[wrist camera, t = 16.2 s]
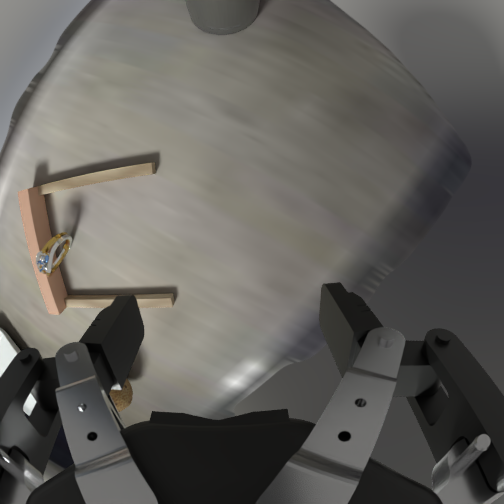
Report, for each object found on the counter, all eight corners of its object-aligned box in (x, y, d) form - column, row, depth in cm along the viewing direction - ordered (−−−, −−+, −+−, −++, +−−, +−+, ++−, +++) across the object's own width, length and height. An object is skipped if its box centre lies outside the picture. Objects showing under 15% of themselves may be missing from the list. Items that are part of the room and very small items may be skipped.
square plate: (-22, 345, 44) (-28, 353, 41) (5, 317, 41) (-4, 326, 38) (36, 412, 53) (32, 421, 50) (79, 402, 50) (74, 413, 46)
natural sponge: (148, 384, 47) (136, 423, 37) (115, 390, 47) (102, 425, 38) (121, 350, 44) (103, 389, 34) (89, 359, 44) (70, 394, 35)
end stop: (32, 187, 33) (17, 191, 29) (42, 184, 33) (27, 188, 29) (60, 302, 40) (49, 314, 36) (70, 302, 40) (59, 314, 36)
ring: (70, 222, 35) (40, 238, 28) (84, 235, 36) (56, 254, 29) (55, 255, 37) (27, 275, 29) (68, 267, 38) (42, 289, 30)
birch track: (42, 184, 33) (37, 186, 31) (154, 162, 33) (151, 162, 32) (70, 302, 40) (66, 307, 38) (174, 302, 41) (172, 307, 39)
